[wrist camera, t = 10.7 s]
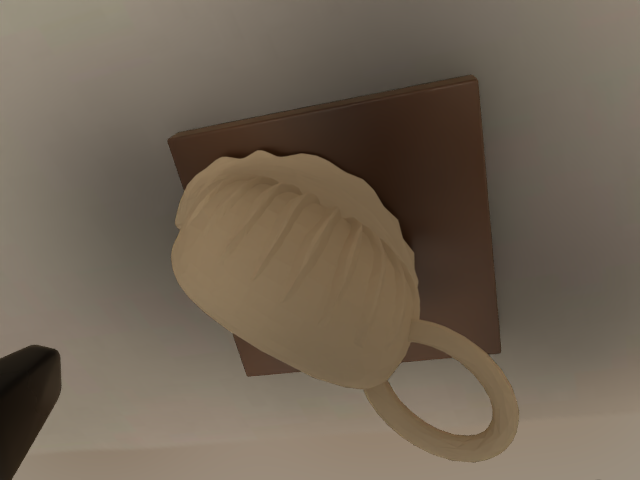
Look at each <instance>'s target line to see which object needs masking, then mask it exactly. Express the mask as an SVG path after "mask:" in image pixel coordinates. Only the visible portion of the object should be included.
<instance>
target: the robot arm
mask: <svg viewBox="0 0 640 480" xmlns="http://www.w3.org/2000/svg"><path fill="white" fill-rule="evenodd" d="M60 392H61V363H60V354H59V352H58V351H57V350H55V349H53V348H48V347H44V346H40V345H31V346H28V347H26V348H23V349H21V350H19V351H16V352H14V353H12V354H10V355H7V356H5V357H3V358H0V480H12V478H13V476H14V475H15V473H16V471H17V469H18V468H19V466H20V464H21V462H22V461H23V459H24V457H25V456H26V454H27V452H28V451H29V449H30V447H31V445H32V444H33V442H34V440H35V438H36V437H37V435H38V433H39V431H40V430H41V428H42V426H43V425H44V423H45V421H46V419H47V418H48V416H49V414H50V412H51V411H52V409H53V407H54V405H55V404H56V402H57V400H58V398H59V395H60Z"/></svg>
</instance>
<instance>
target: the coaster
mask: <svg viewBox="0 0 640 480" xmlns="http://www.w3.org/2000/svg"><path fill="white" fill-rule="evenodd" d="M167 142H168V145H169V148H170V151H171V154H172V157H173V159H174V162H175V165H176V168H177V171H178V174H179V177H180V180H181V183H182V186H183V189H184V191H185V189H186V187H187V185H188V184H189V182H190V181H191V180H192V179H193V178H194V177H195V176H196V175H197V174H198V173H200V172H201V171H203V170H204V169H206V168H207V167H208V166H209V165H211V164H212V163H213V162H214V161H215V160H217V159H219V158H221V157H231V158H237V159H242V158H245V157H247V156H249V155H250V154H252V153H254V152H256V151H257V150H261V151H265V152H268V153H270V154H272V155H275V156H277V157H285V156H290V155H296V154H300V153H303V154H309V155H315V156H318V157H321V158H323V159H325V160H327V161H329V162H331V163H332V164H334V165H335V166H337V167H338V168H340V169H341V170H343V171H344V172H346V173H349V174H351V175H354V176H356V177H359V178H361V179H363V180H364V181H365V182H366V183H367V184H368V185H369V186H370V187H371V188H372V189H373V190H374V191H375V193H376V194H377V196H378V198H379V199H380V201H381V203H382V204H383V206H384V207H385V208H386V209H387V210H388V211H389V212H390V213H391V214H392V215H393V216H394V217H396V218H397V219H398V222H399V225H400V229H401V233H402V237H403V239H404V241H405V242H406V243H407V244H408V246H409V247H410V248H411V249H412V251H413V252H414V267H415V272H416V275H417V278H418V281H419V282H418V287H417V288H418V293H419V298H420V318H419V320H424V321H429V322H433V323H436V324H439V325H442V326H445V327H447V328H449V329H451V330H453V331H455V332H457V333H459V334H461V335H463V336H464V337H466V338H467V339H469V340H470V341H471V342H473V343H474V344H476V345H477V346H478V347H480V348H481V349H482V350H483V351H484V352H486V353H487V354H497V353H501V342H500V330H499V318H498V307H497V295H496V283H495V271H494V260H493V248H492V236H491V225H490V213H489V201H488V189H487V178H486V166H485V154H484V143H483V131H482V119H481V107H480V96H479V84H478V80H477V78H476V77H475V76H474V75H467V76H462V77H456V78H451V79H446V80H441V81H436V82H431V83H426V84H421V85H416V86H411V87H406V88H401V89H396V90H391V91H385V92H380V93H375V94H370V95H365V96H360V97H355V98H350V99H345V100H340V101H335V102H330V103H325V104H319V105H314V106H309V107H304V108H299V109H294V110H289V111H284V112H279V113H274V114H269V115H264V116H259V117H254V118H248V119H243V120H238V121H233V122H228V123H223V124H218V125H213V126H208V127H203V128H198V129H193V130H188V131H183V132H178V133H176V134H175V135H173V136H172V137H170V138H169V139H168V140H167ZM233 336H234V339H235V342H236V345H237V348H238V351H239V354H240V357H241V360H242V363H243V366H244V369H245V372H246V375H247V376H248V377H249V376H260V375H271V374H281V373H292V372H302V371H300V370H298V369H296V368H294V367H292V366H290V365H288V364H286V363H284V362H282V361H280V360H278V359H276V358H274V357H272V356H270V355H268V354H266V353H264V352H262V351H261V350H259V349H257V348H256V347H254V346H253V345H251V344H249V343H248V342H246V341H245V340H243V339H241V338H240V337H238V336H237V335H235V334H234V333H233ZM443 358H453V357H451V356H450V355H448V354H446V353H445V352H443V351H441V350H438V349H436V348H434V347H431V346H428V345H424V344H420V343H416V342H411V343H410V346H409V348H408V350H407V353H406V355H405V357H404V358H403V360H402V361H401V362H411V361H421V360H432V359H443Z"/></svg>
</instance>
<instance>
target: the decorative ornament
mask: <svg viewBox="0 0 640 480" xmlns="http://www.w3.org/2000/svg"><path fill="white" fill-rule="evenodd" d="M175 225H176V226H177V228H178V229H179V230H180V232H179V234H178V236H177V238H176V240H175V242H174V245H173V247H172V252H171V262H172V268H173V271H174V274H175V276H176V279H177V281H178V284H179V285H180V286H181V288H182V289H183V290H184V292H185V293H186V294H187V296H188V297H189V298H190V299H191V300H192V301H193V302H194V303H195V304H196V305H197V306H198V307H199V308H200V309H201V310H202V311H203V312H204V313H206V314H207V315H208V316H210V317H211V318H212V319H214V320H215V321H216V322H218V323H219V324H220V325H222V326H223V327H224V328H226V329H227V330H229V331H230V332H232V333H234V334H235V335H237V336H238V337H240V338H241V339H243V340H245V341H246V342H248V343H249V344H251V345H253V346H254V347H256V348H257V349H259V350H261V351H262V352H264V353H266V354H268V355H270V356H272V357H274V358H276V359H278V360H280V361H282V362H284V363H286V364H288V365H290V366H292V367H294V368H296V369H298V370H300V371H302V372H304V373H306V374H308V375H309V376H311V377H313V378H316V379H319V380H323V381H326V382H329V383H333V384H336V385H340V386H343V387H347V388H356V389H363V390H364V392H365V394H366V397H367V399H368V401H369V402H370V403H371V405H372V406H373V408H374V409H375V411H376V412H377V413H378V415H379V416H380V417H381V418H382V419H383V420H384V421H385V422H386V424H387V425H388V426H390V427H391V428H392V429H393V430H394V431H395V432H397V433H398V434H399V435H400V436H402V437H403V438H404V439H406V440H407V441H409V442H410V443H412V444H413V445H415V446H417V447H419V448H421V449H423V450H425V451H427V452H429V453H431V454H433V455H436V456H439V457H443V458H446V459H448V460H452V461H462V462H479V461H483V460H488V459H490V458H492V457H495V456H497V455H499V454H500V453H502V452H503V451H504V450H505V449H507V447H508V446H509V445H510V444H511V442H512V441H513V439H514V437H515V435H516V432H517V427H518V421H519V409H518V405H517V401H516V398H515V395H514V392H513V389H512V386H511V384H510V383H509V381H508V380H507V378H506V376H505V375H504V373H503V372H502V370H501V369H500V367H499V366H498V365H497V364H496V363H495V362H494V361H493V360H492V359H491V358H490V356H489V355H488V354H487V353H486V352H484V351H483V350H482V349H481V348H480V347H478V346H477V345H476V344H474V343H473V342H471V341H470V340H469V339H467V338H466V337H464V336H463V335H461V334H459V333H457V332H455V331H453V330H451V329H449V328H447V327H445V326H442V325H439V324H436V323H433V322H429V321H424V320H419V318H420V298H419V293H418V288H417V287H418V282H419V281H418V278H417V275H416V272H415V267H414V252H413V251H412V249H411V248H410V247H409V246H408V244H407V243H406V242H405V241H404V239H403V237H402V233H401V229H400V225H399V222H398V219H397V218H396V217H394V216H393V215H392V214H391V213H390V212H389V211H388V210H387V209H386V208H385V207H384V206H383V204H382V203H381V201H380V199H379V198H378V196H377V194H376V193H375V191H374V190H373V189H372V188H371V187H370V186H369V185H368V184H367V183H366V182H365V181H364V180H363V179H361V178H359V177H356V176H354V175H351V174H349V173H346V172H344V171H343V170H341V169H340V168H338V167H337V166H335V165H334V164H332V163H331V162H329V161H327V160H325V159H323V158H321V157H318V156H315V155H309V154H303V153H300V154H296V155H290V156H285V157H277V156H275V155H272V154H270V153H268V152H265V151H261V150H257V151H256V152H254V153H252V154H250V155H249V156H247V157H245V158H242V159H237V158H231V157H221V158H219V159H217V160H215V161H214V162H213V163H212V164H211V165H209V166H208V167H207V168H206V169H204V170H203V171H201V172H200V173H198V174H197V175H196V176H195V177H194V178H193V179H192V180H191V181H190V182H189V184H188V185H187V187H186V189H185V191H184V193H183V196H182V198H181V200H180V202H179V206H178V210H177V214H176V218H175ZM411 342H416V343H420V344H424V345H428V346H431V347H434V348H436V349H438V350H441V351H443V352H445V353H446V354H448V355H450V356H451V357H453V358H454V359H456V360H457V361H459V362H460V363H461V364H462V365H464V366H465V367H466V368H467V369H468V370H469V371H470V372H471V373H472V374H474V376H475V377H476V378H477V379H478V381H479V382H480V383H481V384H482V386H483V387H484V389H485V391H486V393H487V394H488V396H489V398H490V401H491V405H492V409H493V416H492V421H491V423H490V425H489V427H488V428H487V429H486V430H485V431H484V432H482V433H480V434H477V435H469V436H466V435H454V434H451V433H448V432H445V431H442V430H439V429H437V428H435V427H433V426H431V425H430V424H428V423H426V422H424V421H423V420H422V419H420V418H419V417H418V416H416V415H415V414H414V413H413V412H411V411H410V410H409V409H408V408H407V407H406V406H405V405H404V404H403V403H402V402H401V401H400V399H399V398H398V397H397V396H396V394H395V393H394V391H393V389H392V388H391V386H390V384H389V382H388V381H387V380H388V379H389V377H390V376H391V375H392V374H393V373H394V372H395V370H396V369H397V367H398V366H399V364H400V363H401V361H402V360H403V358H404V357H405V355H406V353H407V350H408V348H409V346H410V343H411Z"/></svg>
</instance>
